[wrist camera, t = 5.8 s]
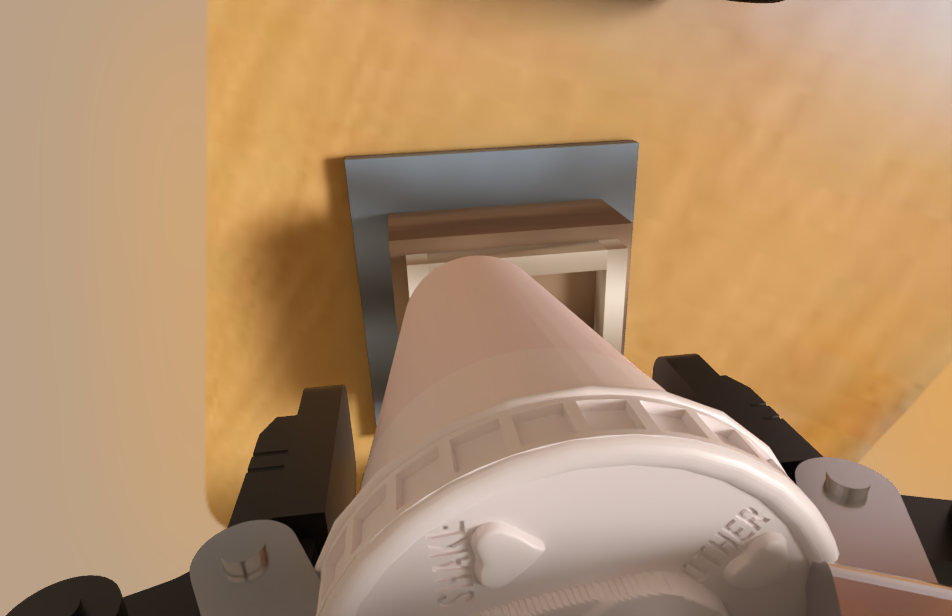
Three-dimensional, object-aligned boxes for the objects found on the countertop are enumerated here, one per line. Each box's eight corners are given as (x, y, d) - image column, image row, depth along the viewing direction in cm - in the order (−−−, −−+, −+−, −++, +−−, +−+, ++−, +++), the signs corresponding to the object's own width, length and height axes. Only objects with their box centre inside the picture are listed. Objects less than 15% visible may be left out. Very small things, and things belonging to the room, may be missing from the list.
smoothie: (550, 447, 18) (980, 1497, 5) (325, 407, 16) (90, 1752, 3) (633, 236, 15) (1802, 1135, 3) (381, 169, 14) (312, 1415, 1)
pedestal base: (345, 156, 33) (335, 188, 26) (632, 139, 35) (691, 165, 28) (378, 434, 41) (377, 514, 34) (614, 408, 42) (657, 480, 36)
